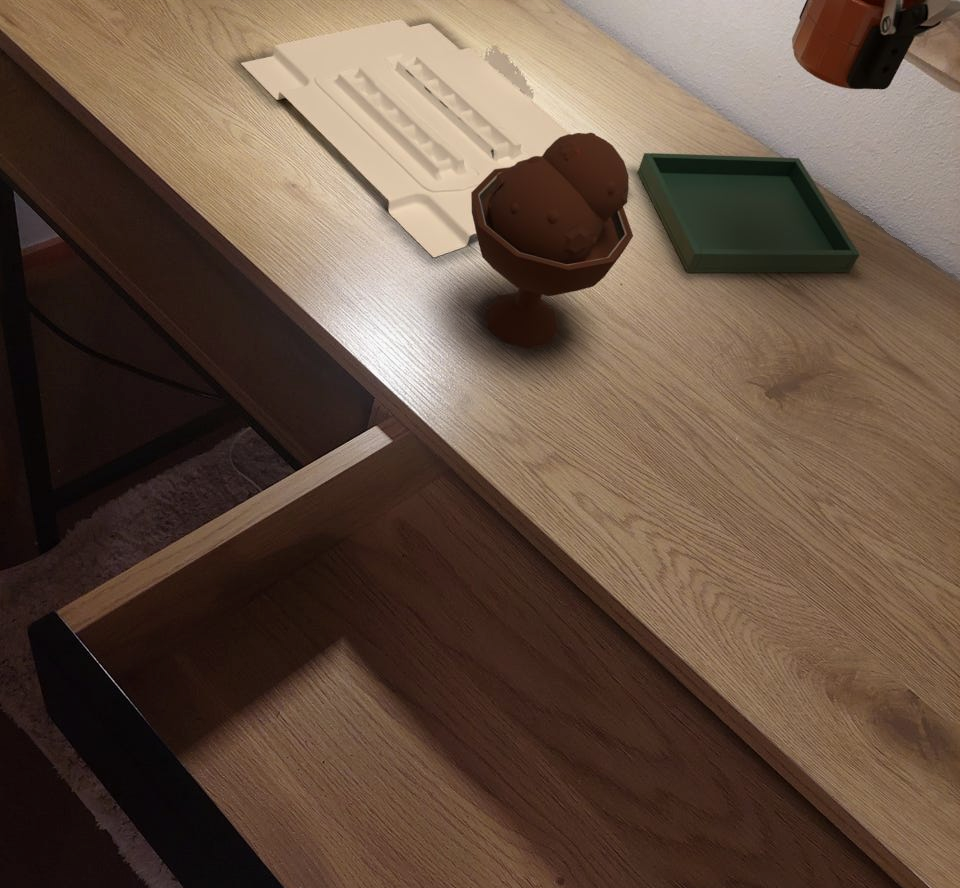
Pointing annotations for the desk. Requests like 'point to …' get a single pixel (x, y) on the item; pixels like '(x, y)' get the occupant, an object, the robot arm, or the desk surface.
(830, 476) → the desk surface
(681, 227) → the green tray
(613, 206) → the ice cream bowl
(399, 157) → the tray
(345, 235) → the desk surface
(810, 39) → the small cup
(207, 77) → the desk surface
